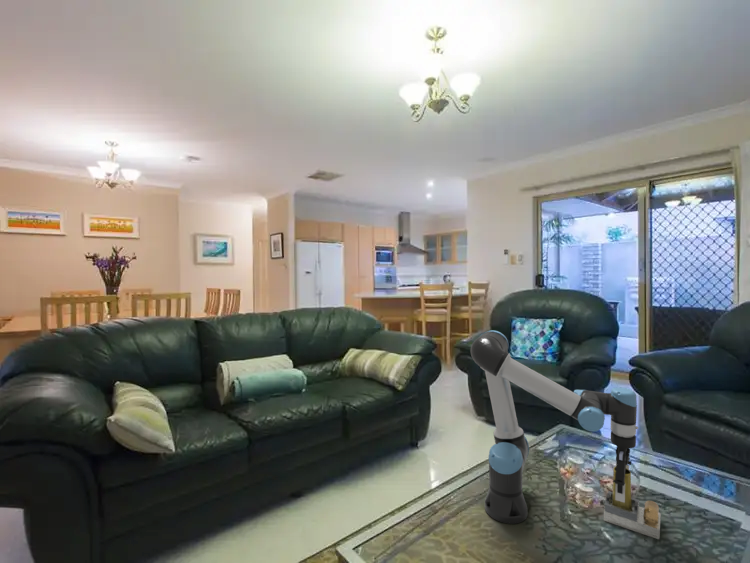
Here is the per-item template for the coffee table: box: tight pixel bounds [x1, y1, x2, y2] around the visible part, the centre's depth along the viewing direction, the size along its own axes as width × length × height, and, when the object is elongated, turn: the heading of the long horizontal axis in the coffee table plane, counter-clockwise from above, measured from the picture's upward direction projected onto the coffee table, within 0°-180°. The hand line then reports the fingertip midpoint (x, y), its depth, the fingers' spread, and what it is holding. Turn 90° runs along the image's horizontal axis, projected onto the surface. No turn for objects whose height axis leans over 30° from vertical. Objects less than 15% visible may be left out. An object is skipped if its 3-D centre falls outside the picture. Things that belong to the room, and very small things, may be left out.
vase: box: [612, 466, 632, 511], centre depth 139 cm, size 6×6×14 cm
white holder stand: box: [603, 490, 662, 540], centre depth 138 cm, size 16×10×8 cm, turn 52°
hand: (622, 490), depth 139 cm, fingers open, 13 cm apart
